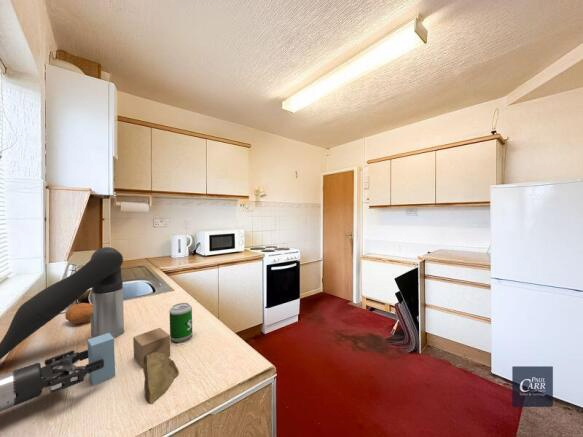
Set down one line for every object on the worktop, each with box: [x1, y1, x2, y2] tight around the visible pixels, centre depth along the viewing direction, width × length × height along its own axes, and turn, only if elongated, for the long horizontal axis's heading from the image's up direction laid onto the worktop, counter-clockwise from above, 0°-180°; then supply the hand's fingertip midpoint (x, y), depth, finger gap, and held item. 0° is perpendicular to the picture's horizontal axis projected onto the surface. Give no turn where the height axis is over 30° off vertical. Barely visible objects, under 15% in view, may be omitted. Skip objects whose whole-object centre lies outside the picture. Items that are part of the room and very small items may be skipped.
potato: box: [64, 302, 93, 324], centre depth 103 cm, size 9×11×8 cm
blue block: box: [87, 333, 116, 386], centre depth 68 cm, size 5×5×11 cm
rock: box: [142, 352, 180, 405], centre depth 65 cm, size 11×9×10 cm
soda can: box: [168, 302, 193, 343], centre depth 89 cm, size 8×8×12 cm
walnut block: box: [132, 327, 171, 369], centre depth 77 cm, size 8×8×7 cm
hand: (99, 356), depth 68 cm, fingers open, 8 cm apart
